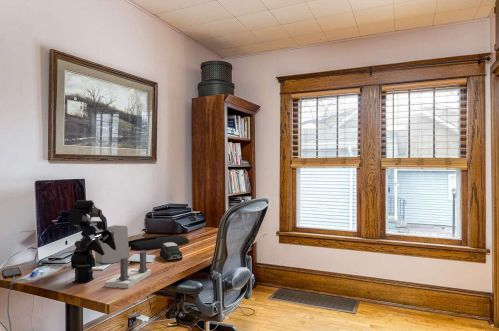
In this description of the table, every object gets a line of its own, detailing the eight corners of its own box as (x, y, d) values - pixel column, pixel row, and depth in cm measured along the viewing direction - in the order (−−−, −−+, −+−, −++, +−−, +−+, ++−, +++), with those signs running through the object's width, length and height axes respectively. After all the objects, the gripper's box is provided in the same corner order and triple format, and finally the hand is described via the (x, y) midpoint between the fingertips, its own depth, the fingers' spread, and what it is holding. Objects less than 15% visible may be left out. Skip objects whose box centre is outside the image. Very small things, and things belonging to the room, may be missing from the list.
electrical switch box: (118, 259, 193) (116, 224, 195) (129, 260, 182) (127, 223, 185) (92, 264, 183) (90, 227, 185) (102, 265, 172) (100, 226, 174)
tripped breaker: (118, 280, 142) (118, 259, 142) (123, 277, 145) (123, 256, 146) (124, 280, 141) (124, 259, 142) (129, 277, 145) (129, 257, 145)
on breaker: (138, 271, 153) (138, 252, 153) (142, 269, 157) (142, 250, 157) (143, 272, 153) (143, 252, 153) (147, 269, 156) (147, 250, 156)
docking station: (195, 244, 223) (195, 237, 223) (134, 253, 200) (134, 244, 200) (181, 238, 243) (181, 231, 243) (124, 245, 221) (124, 237, 221)
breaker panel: (104, 286, 141) (104, 281, 141) (129, 272, 160) (129, 268, 160) (128, 288, 139) (128, 283, 139) (150, 273, 158) (150, 269, 158)
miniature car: (167, 262, 177) (167, 248, 178) (158, 255, 193) (158, 241, 193) (183, 260, 182) (183, 246, 182) (173, 253, 198) (174, 240, 198)
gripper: (88, 234, 157) (109, 258, 155) (60, 243, 138) (84, 270, 136) (103, 218, 156) (125, 242, 154) (77, 224, 137) (102, 252, 136)
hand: (109, 252), depth 145 cm, fingers open, 9 cm apart
